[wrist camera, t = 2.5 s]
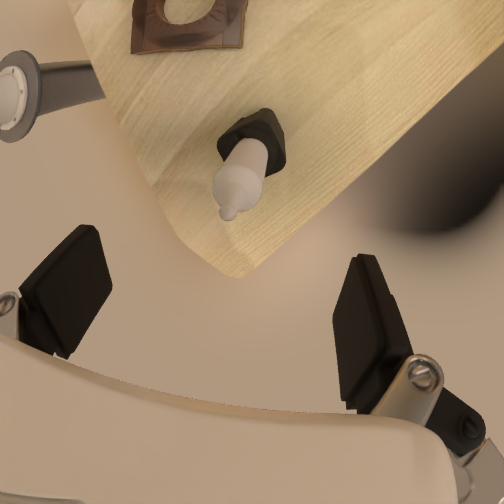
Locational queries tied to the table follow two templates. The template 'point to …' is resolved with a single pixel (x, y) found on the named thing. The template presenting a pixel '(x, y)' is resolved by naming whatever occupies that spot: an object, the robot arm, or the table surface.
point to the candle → (247, 161)
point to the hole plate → (186, 28)
